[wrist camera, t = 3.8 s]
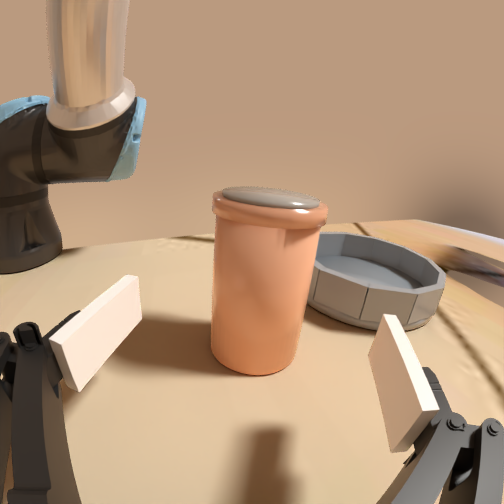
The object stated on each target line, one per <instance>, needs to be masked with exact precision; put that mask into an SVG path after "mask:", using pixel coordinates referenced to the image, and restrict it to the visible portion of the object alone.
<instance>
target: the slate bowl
mask: <svg viewBox="0 0 504 504" xmlns="http://www.w3.org/2000/svg"><path fill="white" fill-rule="evenodd" d="M445 280H446V274H445V273H444V272H443V271H442V270H441V269H440V268H439V267H438V266H437V265H436V264H435V263H434V262H433V261H432V260H431V259H429V258H427V257H425V256H423V255H421V254H419V253H417V252H415V251H413V250H411V249H409V248H407V247H405V246H402V245H398V244H395V243H392V242H389V241H386V240H382V239H379V238H375V237H371V236H365V235H359V234H353V233H347V232H320V234H319V240H318V246H317V251H316V257H315V263H314V268H313V273H312V279H311V284H310V289H309V294H308V299H307V303H308V304H309V305H310V306H312V307H313V308H315V309H316V310H318V311H320V312H322V313H323V314H326V315H328V316H330V317H332V318H334V319H337V320H339V321H342V322H344V323H348V324H351V325H354V326H358V327H362V328H367V329H372V330H378V327H379V325H380V322H381V319H382V316H383V314H388V315H396V316H397V318H398V320H399V322H400V324H401V326H402V328H403V330H404V331H405V330H411V329H415V328H418V327H421V326H423V325H425V324H426V323H427V322H429V320H430V319H431V318H432V316H433V315H434V314H435V312H436V309H437V306H438V304H439V301H440V298H441V296H442V293H443V290H444V286H445Z"/></svg>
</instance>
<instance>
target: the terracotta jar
mask: <svg viewBox="0 0 504 504" xmlns="http://www.w3.org/2000/svg"><path fill="white" fill-rule="evenodd" d="M212 211H213V213H215V214H216V227H215V245H214V265H213V288H212V318H211V350H212V352H213V355H214V356H215V357H216V359H217V360H218V361H219V362H220V363H222V364H223V365H224V366H226V367H228V368H229V369H232V370H234V371H237V372H240V373H244V374H250V375H265V374H271V373H275V372H278V371H280V370H282V369H284V368H286V367H287V366H288V365H289V364H290V363H291V362H292V361H293V359H294V357H295V353H296V349H297V345H298V340H299V336H300V332H301V327H302V323H303V318H304V313H305V309H306V304H307V299H308V294H309V289H310V284H311V279H312V273H313V268H314V263H315V257H316V251H317V246H318V240H319V234H320V228H321V226H324V225H325V224H326V219H327V213H328V206H327V205H326V204H324V203H322V202H320V200H319V199H317V198H315V197H312V196H309V195H306V194H302V193H298V192H293V191H287V190H281V189H272V188H263V187H230V188H225V189H223V190H222V191H218V192H215V193H214V194H213V202H212Z"/></svg>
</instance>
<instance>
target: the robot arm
mask: <svg viewBox="0 0 504 504" xmlns="http://www.w3.org/2000/svg"><path fill="white" fill-rule="evenodd" d="M129 1H130V0H46V22H47V37H48V38H47V39H48V50H49V59H50V68H51V75H52V81H53V88H54V95H53V96H52V97H51V99H50V98H49V97H47V96H31V97H27V98H24V97H23V98H18V99H15V100H12V101H9V102H6V103H4V104H2V105H0V273H13V272H19V271H23V270H27V269H30V268H34V267H36V266H39V265H42V264H44V263H46V262H48V261H50V260H51V259H53V258H55V257H56V256H57V255H58V254H59V253H60V252H61V251H62V248H63V247H62V238H61V233H60V230H59V228H58V225H57V223H56V220H55V218H54V215H53V212H52V210H51V207H50V204H49V200H48V184H56V183H76V182H109V181H111V180H121V179H127V178H129V177H130V176H131V175H132V174H133V173H134V171H135V168H136V163H137V157H138V151H139V144H140V137H141V132H142V127H143V122H144V115H145V110H146V100H145V99H144V98H140V97H135V87H134V85H133V83H132V82H131V81H130V80H129V79H127V78H126V77H124V76H123V74H124V53H125V38H126V27H127V18H128V9H129ZM141 319H142V313H141V304H140V293H139V281H138V277H137V276H132V275H125V276H124V277H123V278H121V279H120V280H119V281H118V282H116V283H115V284H114V285H113V286H111V287H110V288H109V289H107V290H106V291H105V292H104V293H103V294H101V295H100V296H99V297H98V298H96V299H95V300H94V301H93V302H91V303H90V304H89V305H88V306H87V307H85V308H84V309H83V310H82V311H80V310H78V311H76V312H74V313H72V314H70V315H69V316H67V317H66V318H65V319H64V321H61V322H60V323H59V325H57V326H55V327H54V328H53V329H52V330H51V331H49V332H48V333H47V334H46V335H45V336H44V337H42V336H41V333H40V330H39V327H38V325H37V324H36V323H33V322H25V323H22V324H20V325H18V326H17V327H16V328H15V329H14V331H13V333H14V336H15V339H16V341H17V343H14V342H12V341H11V338H10V336H9V334H8V333H6V332H0V376H1V373H2V375H3V379H2V380H1V379H0V504H2V499H3V489H4V480H5V473H6V467H7V461H8V455H9V450H10V445H11V447H12V466H13V477H14V488H13V489H10V490H9V491H8V493H7V500H8V504H82V503H81V500H80V497H79V493H78V489H77V486H76V482H75V478H74V473H73V469H72V464H71V459H70V454H69V449H68V443H67V437H66V430H65V423H64V414H63V405H62V393H61V385H60V383H59V381H60V380H61V379H62V378H64V381H65V383H66V385H67V387H69V388H71V389H73V390H75V391H77V392H80V391H81V390H82V389H83V388H84V386H85V385H86V384H87V383H88V381H89V380H90V379H91V378H92V377H93V375H94V374H95V373H96V372H97V371H98V369H99V368H100V367H101V366H102V365H103V364H104V362H105V361H106V360H107V359H108V358H109V356H110V355H111V354H112V353H113V352H114V351H115V349H116V348H117V347H118V346H119V345H120V344H121V342H122V341H123V340H124V339H125V338H126V337H127V335H128V334H129V333H130V332H131V331H132V330H133V329H134V327H135V326H136V325H137V324H138V323H139V322H140V321H141ZM368 357H369V361H370V365H371V368H372V372H373V376H374V380H375V384H376V388H377V392H378V396H379V400H380V405H381V409H382V413H383V418H384V422H385V427H386V432H387V437H388V442H389V447H390V453H394V452H405V451H407V450H408V449H409V448H410V447H411V445H412V444H414V448H415V451H414V452H413V453H412V454H411V456H410V457H409V458H408V459H407V460H406V461H405V462H404V463H403V464H405V465H404V467H403V468H402V470H401V471H400V473H399V474H398V476H397V477H396V478H395V480H394V481H393V483H392V484H391V485H390V487H389V488H388V489H387V491H386V492H385V493H384V495H383V496H382V497H381V498H380V500H379V501H378V502H377V503H376V504H434V503H435V501H436V499H437V497H438V495H439V493H440V491H441V490H442V488H443V490H442V494H441V498H440V502H439V504H501V502H502V494H503V483H504V428H503V426H502V424H501V423H500V422H499V421H498V420H496V419H493V418H488V419H486V420H485V421H484V422H483V423H482V424H481V426H476V425H469V424H467V422H466V420H465V419H464V418H463V417H462V416H461V415H460V414H457V413H454V412H452V410H451V408H450V406H449V403H448V401H447V399H446V397H445V394H444V392H443V390H442V388H441V386H440V384H439V381H438V379H437V377H436V375H435V374H434V373H433V372H432V371H431V370H430V369H429V367H421V365H420V363H419V361H418V358H417V356H416V354H415V352H414V350H413V348H412V346H411V344H410V342H409V340H408V338H407V336H406V334H405V332H404V330H403V328H402V326H401V324H400V322H399V320H398V318H397V316H396V315H388V314H383V316H382V319H381V322H380V325H379V327H378V330H377V333H376V336H375V338H374V341H373V344H372V346H371V349H370V351H369V354H368Z"/></svg>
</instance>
